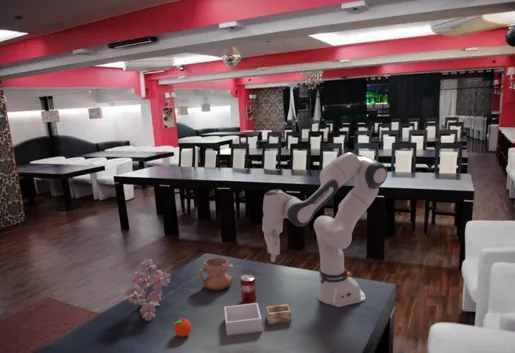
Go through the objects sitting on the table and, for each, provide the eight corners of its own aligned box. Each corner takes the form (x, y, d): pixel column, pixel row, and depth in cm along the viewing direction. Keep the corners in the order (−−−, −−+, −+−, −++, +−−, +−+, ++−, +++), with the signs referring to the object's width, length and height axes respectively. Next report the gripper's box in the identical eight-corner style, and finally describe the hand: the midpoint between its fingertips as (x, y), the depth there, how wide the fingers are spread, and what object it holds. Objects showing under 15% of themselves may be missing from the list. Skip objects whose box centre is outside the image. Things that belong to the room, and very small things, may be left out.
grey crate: (258, 314, 176) (257, 302, 175) (262, 331, 164) (261, 318, 162) (225, 318, 174) (224, 306, 173) (226, 336, 162) (225, 323, 161)
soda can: (254, 304, 185) (253, 281, 182) (240, 304, 186) (238, 280, 184) (257, 297, 192) (256, 274, 189) (243, 296, 193) (242, 274, 191)
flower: (107, 316, 179) (117, 276, 168) (137, 288, 199) (147, 251, 188) (143, 338, 175) (155, 299, 164) (170, 308, 195) (182, 271, 185)
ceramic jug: (233, 278, 213) (231, 254, 210) (235, 291, 199) (233, 265, 196) (200, 282, 211) (197, 258, 208) (200, 295, 197) (197, 269, 194)
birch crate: (288, 314, 176) (288, 304, 175) (291, 321, 170) (290, 311, 169) (266, 316, 174) (266, 306, 173) (268, 324, 168) (268, 314, 167)
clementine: (174, 342, 159) (172, 327, 158) (171, 333, 166) (169, 318, 164) (193, 337, 162) (192, 321, 161) (189, 328, 169) (188, 313, 167)
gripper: (284, 234, 159) (282, 266, 161) (275, 219, 179) (274, 248, 181) (269, 235, 158) (267, 266, 161) (262, 219, 178) (261, 248, 181)
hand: (271, 256), depth 171 cm, fingers open, 8 cm apart
